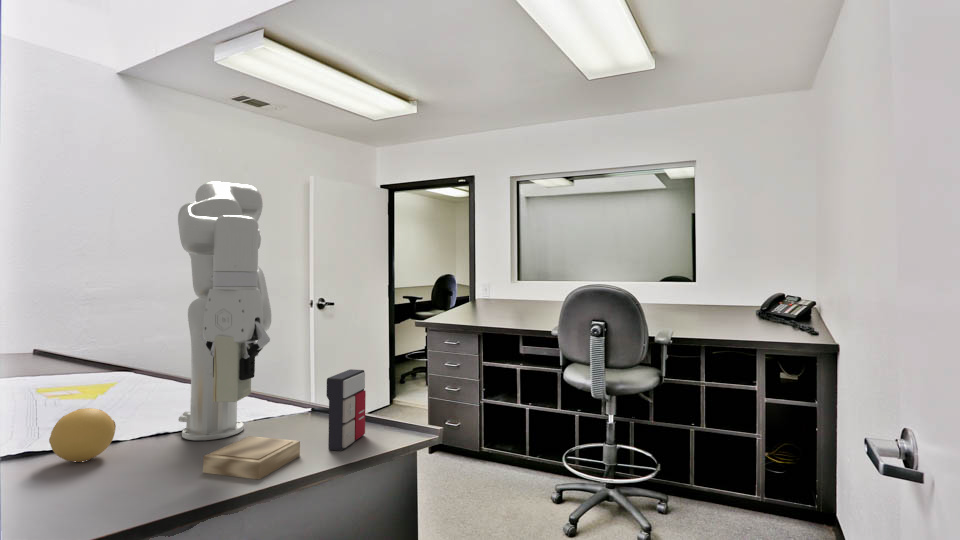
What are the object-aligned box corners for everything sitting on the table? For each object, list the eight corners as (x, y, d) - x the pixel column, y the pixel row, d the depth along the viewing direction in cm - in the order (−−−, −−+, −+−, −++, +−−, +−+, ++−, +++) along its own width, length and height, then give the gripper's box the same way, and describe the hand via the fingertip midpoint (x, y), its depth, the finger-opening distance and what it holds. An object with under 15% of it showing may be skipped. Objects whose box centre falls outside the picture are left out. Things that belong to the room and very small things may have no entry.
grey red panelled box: (344, 451, 101) (345, 379, 101) (325, 450, 102) (326, 378, 102) (366, 435, 112) (367, 369, 112) (349, 434, 113) (350, 368, 113)
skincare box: (229, 394, 95) (230, 331, 95) (252, 394, 95) (253, 332, 95) (211, 402, 88) (213, 335, 89) (236, 402, 88) (237, 335, 89)
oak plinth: (203, 472, 90) (203, 455, 90) (248, 450, 101) (249, 435, 101) (259, 479, 87) (259, 461, 87) (299, 456, 98) (299, 440, 98)
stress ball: (100, 470, 92) (137, 425, 100) (58, 441, 87) (101, 395, 95) (66, 472, 96) (104, 427, 103) (23, 443, 90) (67, 399, 98)
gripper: (182, 281, 91) (180, 378, 90) (260, 282, 86) (258, 385, 86) (214, 280, 98) (212, 371, 98) (287, 282, 93) (285, 377, 93)
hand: (233, 376), depth 92 cm, fingers closed on skincare box, 5 cm apart
